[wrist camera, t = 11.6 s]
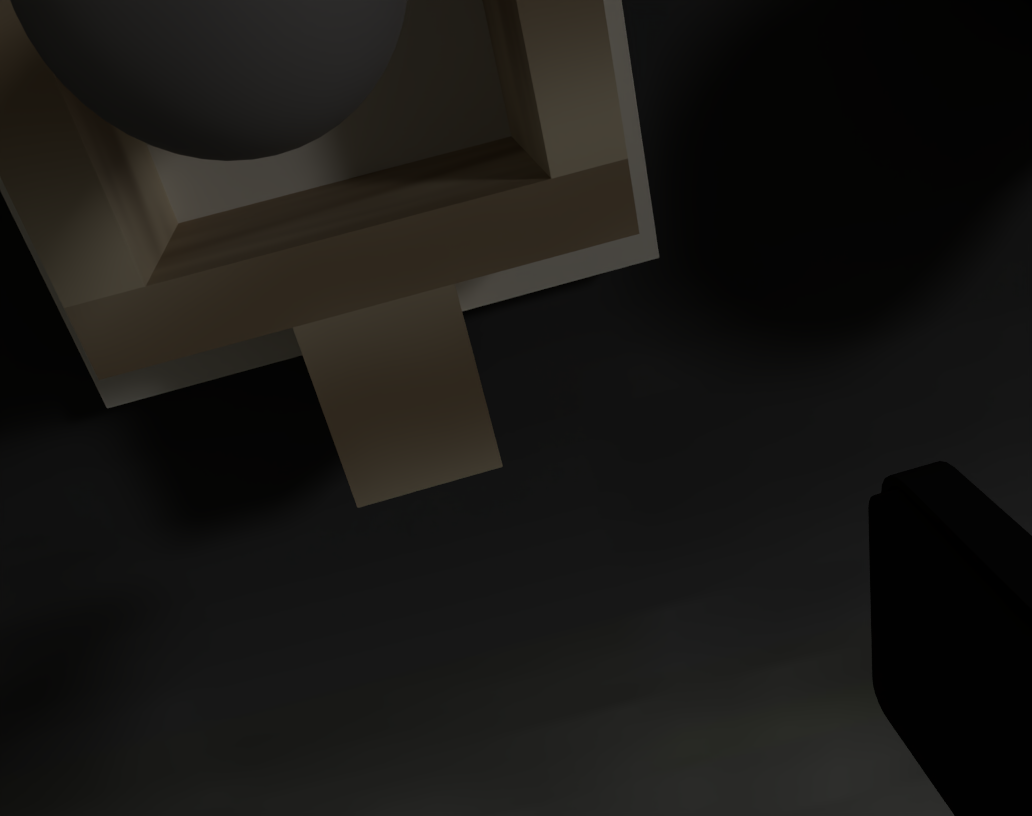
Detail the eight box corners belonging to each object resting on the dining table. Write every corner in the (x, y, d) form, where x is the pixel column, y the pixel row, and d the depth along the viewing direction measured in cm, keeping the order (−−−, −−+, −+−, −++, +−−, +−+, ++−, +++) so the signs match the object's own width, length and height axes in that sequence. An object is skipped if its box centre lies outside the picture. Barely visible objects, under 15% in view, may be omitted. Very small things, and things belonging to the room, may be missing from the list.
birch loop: (-107, -255, 15) (-239, -314, 12) (482, -389, 16) (528, -483, 12) (207, 457, 22) (184, 556, 18) (614, 344, 22) (668, 419, 19)
